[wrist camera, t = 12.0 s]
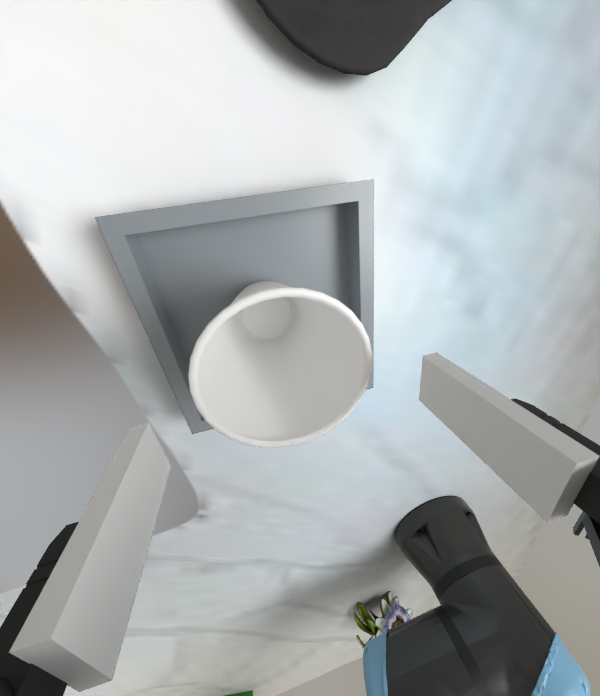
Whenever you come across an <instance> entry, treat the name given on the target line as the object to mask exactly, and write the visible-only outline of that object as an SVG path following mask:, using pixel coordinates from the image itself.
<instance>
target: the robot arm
mask: <svg viewBox="0 0 600 696" xmlns="http://www.w3.org/2000/svg"><path fill="white" fill-rule="evenodd" d="M419 400H420V401H421V402H422V403H423V404H424V405H425V406H426V407H427V408H428V409H429V410H430V411H431V412H432V413H433V414H434V415H435V416H436V417H437V418H439V419H440V420H441V421H442V422H443V423H444V424H445V425H446V426H447V427H448V428H449V429H450V430H451V431H452V432H453V433H454V434H455V435H456V436H457V437H458V438H459V439H461V440H462V441H463V442H464V443H465V444H466V445H467V446H468V447H469V448H470V449H471V450H472V451H473V452H474V453H475V454H476V455H477V456H478V457H479V458H480V459H481V460H483V461H484V462H485V463H486V464H487V465H488V466H489V467H490V468H491V469H492V470H493V471H494V472H495V473H496V474H497V475H498V476H499V477H500V478H501V479H502V480H503V481H504V482H506V483H507V484H508V485H509V486H510V487H511V488H512V489H513V490H514V491H515V492H516V493H517V494H518V495H519V496H520V497H521V498H522V499H523V500H524V501H525V502H526V503H528V504H529V505H530V506H531V507H532V508H533V509H534V510H535V511H536V512H537V513H538V514H539V515H540V516H541V517H542V518H543V519H544V520H545V521H546V522H550V521H553V520H555V519H558V518H561V517H563V516H566V515H568V513H569V511H570V509H571V507H572V506H573V504H576V505H577V506H578V507H579V508H580V509H582V510H583V512H582V514H581V515H580V517H579V519H578V521H577V522H576V524H575V526H574V527H573V532H574V534H575V535H579V534H580V532H581V531H582V529H583V528H584V527H585V530H586V532H587V534H586V536H585V538H587V539H589V540H590V543H591V545H592V548H593V551H594V553H595V556H596V558H597V561H598V564H599V566H600V446H599V445H598V444H596V443H594V442H592V441H591V440H589V439H588V438H586V437H584V436H583V435H581V434H579V433H578V432H576V431H574V430H573V429H571V428H570V427H568V426H566V425H565V424H563V423H562V424H561V423H560V421H558V420H556V419H555V418H553V417H551V416H548V415H547V414H546V413H545V412H543V411H541V410H540V409H538V408H536V407H535V406H533V405H531V404H529V403H526V402H523V401H521V400H518V399H511V400H510V399H509V398H507V397H506V396H504V395H503V394H501V393H499V392H498V391H496V390H495V389H493V388H492V387H490V386H488V385H487V384H485V383H484V382H482V381H480V380H479V379H477V378H476V377H474V376H473V375H471V374H469V373H468V372H466V371H465V370H463V369H462V368H460V367H458V366H457V365H455V364H454V363H452V362H451V361H449V360H447V359H446V358H444V357H443V356H441V355H439V354H438V353H434V354H429V355H425V356H423V361H422V372H421V383H420V394H419ZM170 469H171V464H170V462H169V461H168V458H167V457H166V455H165V453H164V451H163V449H162V447H161V445H160V443H159V441H158V439H157V437H156V436H155V434H154V432H153V430H152V428H151V426H150V424H149V423H144V424H140V425H136V426H132V427H130V428H129V430H128V432H127V433H126V435H125V437H124V439H123V441H122V443H121V444H120V446H119V448H118V450H117V452H116V454H115V456H114V458H113V459H112V461H111V463H110V465H109V467H108V469H107V471H106V473H105V475H104V476H103V478H102V480H101V482H100V484H99V485H98V487H97V489H96V491H95V493H94V495H93V497H92V499H91V500H90V502H89V504H88V506H87V508H86V510H85V512H84V513H83V515H82V517H81V519H80V521H79V522H76V523H73V524H69V525H67V526H66V527H65V528H64V529H63V530H62V531H61V532H60V533H59V535H58V536H57V537H56V538H55V539H54V540H53V541H52V542H51V544H50V545H49V546H48V548H47V550H46V552H45V553H44V555H43V556H42V558H41V560H40V561H39V563H38V565H37V569H36V570H34V572H33V573H32V575H31V577H30V578H29V580H28V582H27V583H26V584H27V586H26V588H24V589H23V590H22V592H21V594H20V595H19V597H18V599H17V600H16V602H15V604H14V605H13V607H12V609H11V611H10V612H9V614H8V616H7V617H6V619H5V621H4V622H3V624H2V626H1V627H0V696H63V694H64V691H65V689H66V686H67V685H68V686H70V687H72V688H73V689H75V690H77V691H79V692H80V691H83V690H86V689H89V688H91V687H94V686H97V685H100V684H103V683H105V682H108V681H111V680H112V679H113V675H114V671H115V668H116V664H117V661H118V657H119V653H120V650H121V646H122V642H123V639H124V635H125V632H126V628H127V624H128V621H129V617H130V613H131V610H132V606H133V603H134V599H135V595H136V592H137V588H138V585H139V581H140V577H141V574H142V570H143V566H144V563H145V559H146V556H147V552H148V548H149V545H150V541H151V538H152V534H153V530H154V527H155V523H156V519H157V516H158V512H159V509H160V505H161V501H162V498H163V494H164V490H165V487H166V483H167V479H168V476H169V472H170ZM395 538H396V541H397V543H398V545H399V547H400V549H401V551H402V552H403V554H404V555H405V556H406V558H407V559H408V560H409V561H410V562H411V563H412V564H413V566H414V567H415V568H416V569H417V570H418V571H419V573H420V574H421V575H422V576H423V577H424V578H425V579H426V581H427V582H428V583H429V584H430V586H431V587H432V589H433V591H434V592H435V594H436V596H437V598H438V600H439V602H440V604H441V606H439V607H436V608H434V609H432V610H430V611H428V612H426V613H423V614H421V615H419V616H417V617H415V618H413V619H411V620H409V621H407V622H405V623H402V624H400V625H398V626H396V627H393V628H391V629H389V628H388V629H385V631H384V632H383V633H382V634H380V635H378V636H376V637H375V638H373V639H371V640H370V641H368V642H367V644H366V646H365V648H364V652H363V670H364V679H365V686H366V693H367V696H590V693H591V691H590V685H589V682H588V679H587V677H586V675H585V673H584V672H583V670H582V669H581V668H580V666H579V665H578V663H577V662H576V661H575V659H574V658H573V657H572V655H571V654H570V653H569V651H568V650H567V648H566V647H565V646H564V644H563V643H562V642H561V640H560V637H559V635H558V634H557V633H556V632H554V631H553V629H552V628H551V627H550V626H549V624H548V623H547V622H546V620H545V619H544V618H543V617H542V615H541V614H540V613H539V612H538V610H537V609H536V608H535V606H534V605H533V604H532V603H531V601H530V600H529V599H528V598H527V596H526V595H525V594H524V593H523V591H522V590H521V588H520V587H519V586H518V585H517V583H516V582H515V581H514V579H513V578H512V577H511V576H510V574H509V573H508V572H507V571H506V569H505V568H504V567H503V565H502V564H501V563H500V562H499V560H498V559H497V558H496V556H495V555H494V554H493V552H492V551H491V549H490V547H489V545H488V543H487V540H486V538H485V536H484V534H483V532H482V530H481V527H480V525H479V523H478V521H477V519H476V517H475V514H474V513H473V511H472V510H471V508H470V507H469V506H468V505H467V504H466V502H465V501H464V500H463V499H461V498H459V497H454V496H448V497H442V498H438V499H435V500H432V501H430V502H428V503H425V504H424V505H422V506H420V507H418V508H417V509H415V510H414V511H413V512H411V513H410V514H409V515H408V516H407V517H406V518H405V519H404V520H403V521H402V522H401V523H400V525H399V526H398V528H397V530H396V534H395Z"/></svg>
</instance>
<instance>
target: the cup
mask: <svg viewBox="0 0 600 696" xmlns="http://www.w3.org/2000/svg"><path fill="white" fill-rule="evenodd" d="M371 370H372V350H371V345H370V340H369V337H368V335H367V333H366V331H365V328H364V326H363V324H362V323H361V322H360V320H359V319H358V318H357V317H356V315H355V314H354V313H353V312H352V311H351V310H350V309H349V308H348V307H346V306H345V305H344V304H343V303H341V302H340V301H339V300H337V299H335V298H333V297H331V296H328V295H326V294H324V293H322V292H318V291H314V290H310V289H306V288H293V287H289V286H286V285H284V284H281V283H277V282H273V281H261V282H256V283H254V284H251V285H249V286H248V287H246V288H244V289H243V290H242V291H241V292H240V293H239V294H238V296H237V297H236V298H235V299H234V301H233V302H232V303H231V304H230V306H228V307H226V308H225V309H223V310H222V311H221V312H220V313H219V314H218V315H217V316H216V317H215V318H214V319H213V320H212V321H211V322H210V323H208V325H207V326H206V328H205V329H204V331H203V332H202V334H201V335H200V337H199V338H198V340H197V341H196V344H195V347H194V349H193V352H192V355H191V357H190V364H189V373H188V379H189V387H190V393H191V395H192V398H193V401H194V403H195V406H196V408H197V409H198V411H199V412H200V414H201V415H202V416H203V418H204V419H205V421H206V422H208V423H209V424H210V425H211V426H212V427H213V428H214V429H215V430H216V431H218V432H220V433H221V434H223V435H224V436H226V437H228V438H229V439H232V440H235V441H237V442H240V443H243V444H246V445H252V446H257V447H273V448H275V447H285V446H292V445H296V444H300V443H303V442H307V441H309V440H311V439H314V438H316V437H319V436H321V435H322V434H324V433H326V432H327V431H329V430H331V429H333V428H334V427H335V426H336V425H338V424H339V423H340V422H341V421H343V420H344V419H345V418H346V417H347V416H348V415H349V414H350V413H351V411H352V410H353V409H354V408H355V407H356V405H357V404H358V402H359V401H360V399H361V398H362V396H363V394H364V392H365V389H366V387H367V385H368V383H369V378H370V374H371Z"/></svg>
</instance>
